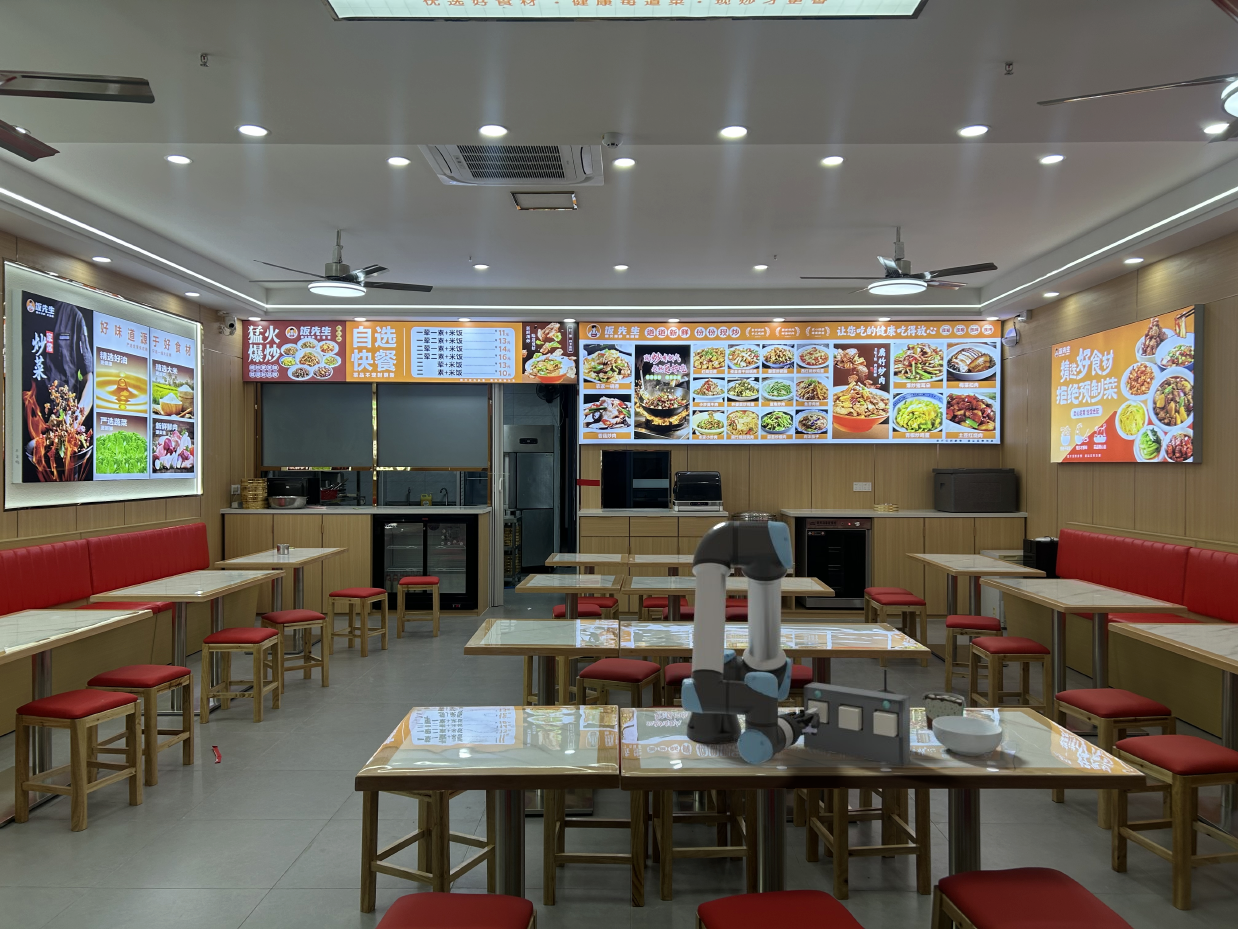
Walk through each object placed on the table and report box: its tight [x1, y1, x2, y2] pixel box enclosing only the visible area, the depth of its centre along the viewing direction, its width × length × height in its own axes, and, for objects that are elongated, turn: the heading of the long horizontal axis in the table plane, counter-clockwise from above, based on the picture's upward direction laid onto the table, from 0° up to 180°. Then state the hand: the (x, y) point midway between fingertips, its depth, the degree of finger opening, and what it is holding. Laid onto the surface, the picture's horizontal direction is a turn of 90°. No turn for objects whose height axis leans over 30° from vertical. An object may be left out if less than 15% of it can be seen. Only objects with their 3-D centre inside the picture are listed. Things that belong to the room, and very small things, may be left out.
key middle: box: [839, 704, 863, 731], centre depth 212 cm, size 4×5×5 cm
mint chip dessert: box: [921, 691, 967, 731], centre depth 237 cm, size 12×6×10 cm, turn 47°
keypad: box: [803, 681, 911, 767], centre depth 215 cm, size 6×26×16 cm, turn 55°
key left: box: [808, 699, 829, 723], centre depth 219 cm, size 4×5×5 cm
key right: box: [874, 710, 899, 737], centre depth 207 cm, size 4×5×5 cm
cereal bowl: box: [932, 715, 1003, 757], centre depth 217 cm, size 17×17×7 cm
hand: (817, 712), depth 217 cm, fingers closed
